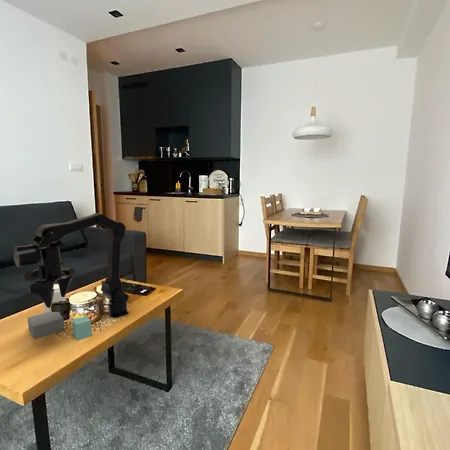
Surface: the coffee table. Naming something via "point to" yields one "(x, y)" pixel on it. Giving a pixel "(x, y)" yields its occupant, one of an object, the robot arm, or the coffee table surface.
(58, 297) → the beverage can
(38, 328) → the charcoal box
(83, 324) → the teal block
